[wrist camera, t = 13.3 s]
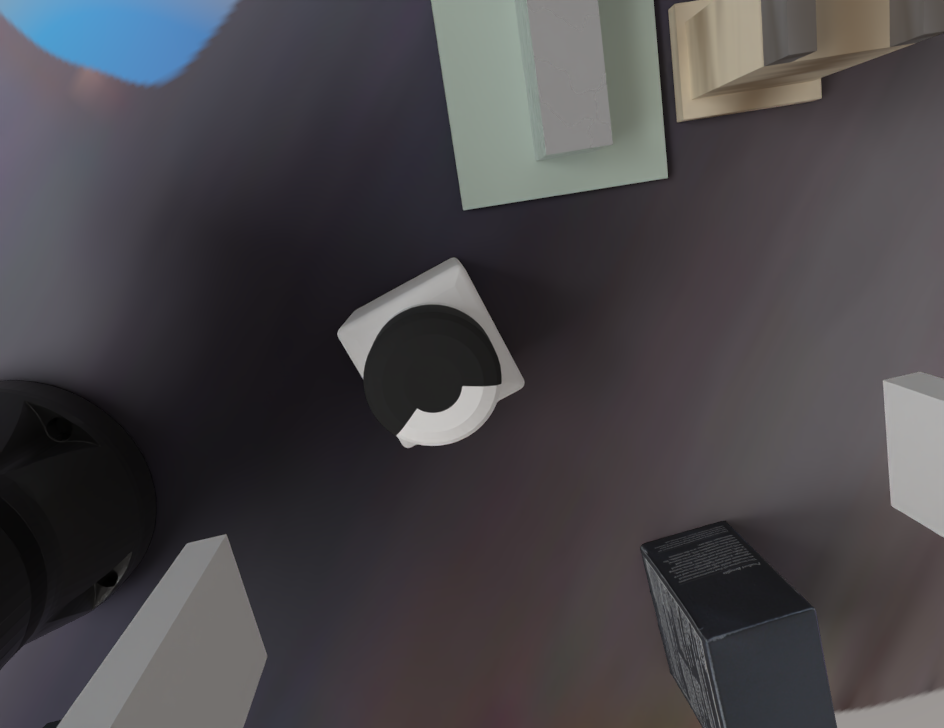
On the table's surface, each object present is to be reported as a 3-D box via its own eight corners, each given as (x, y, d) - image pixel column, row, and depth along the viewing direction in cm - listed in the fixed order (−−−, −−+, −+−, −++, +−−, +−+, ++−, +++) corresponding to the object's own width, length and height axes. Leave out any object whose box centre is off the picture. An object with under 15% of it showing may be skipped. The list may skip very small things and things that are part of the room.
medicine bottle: (350, 312, 38) (316, 352, 27) (455, 254, 38) (467, 269, 26) (409, 412, 40) (401, 491, 28) (510, 358, 40) (544, 415, 28)
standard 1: (676, 122, 37) (776, 83, 27) (668, 9, 36) (769, -80, 25) (811, 101, 37) (964, 53, 27) (807, -12, 36) (966, -109, 25)
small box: (757, 648, 45) (853, 773, 35) (669, 674, 45) (738, 806, 35) (730, 516, 43) (823, 608, 33) (636, 543, 43) (701, 644, 33)
